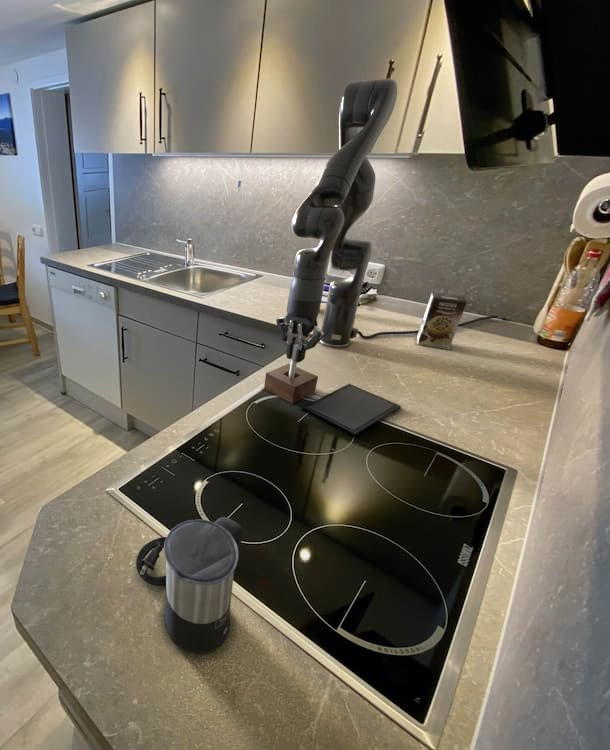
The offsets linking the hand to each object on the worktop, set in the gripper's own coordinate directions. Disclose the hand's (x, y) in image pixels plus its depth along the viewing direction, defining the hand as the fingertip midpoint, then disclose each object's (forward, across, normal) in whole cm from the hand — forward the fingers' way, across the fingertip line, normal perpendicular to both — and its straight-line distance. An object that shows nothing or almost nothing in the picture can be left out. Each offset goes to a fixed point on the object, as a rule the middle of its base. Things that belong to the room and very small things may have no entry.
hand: (294, 359), depth 107 cm
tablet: (+9, -15, -5) cm, 18 cm away
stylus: (+10, 0, 0) cm, 10 cm away
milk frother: (+10, -29, +61) cm, 68 cm away
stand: (+9, 0, 0) cm, 9 cm away
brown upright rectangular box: (+10, -8, -63) cm, 64 cm away
